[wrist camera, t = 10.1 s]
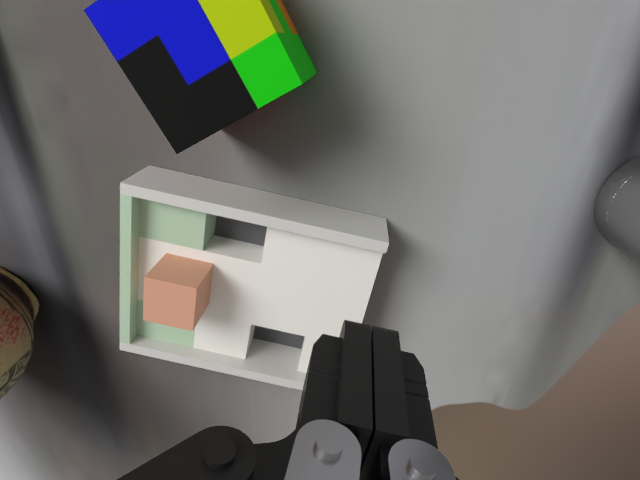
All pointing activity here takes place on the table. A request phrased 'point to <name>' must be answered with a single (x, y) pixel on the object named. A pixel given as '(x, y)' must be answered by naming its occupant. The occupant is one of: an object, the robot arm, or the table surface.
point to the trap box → (245, 272)
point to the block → (177, 291)
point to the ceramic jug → (15, 328)
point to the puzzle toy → (203, 59)
